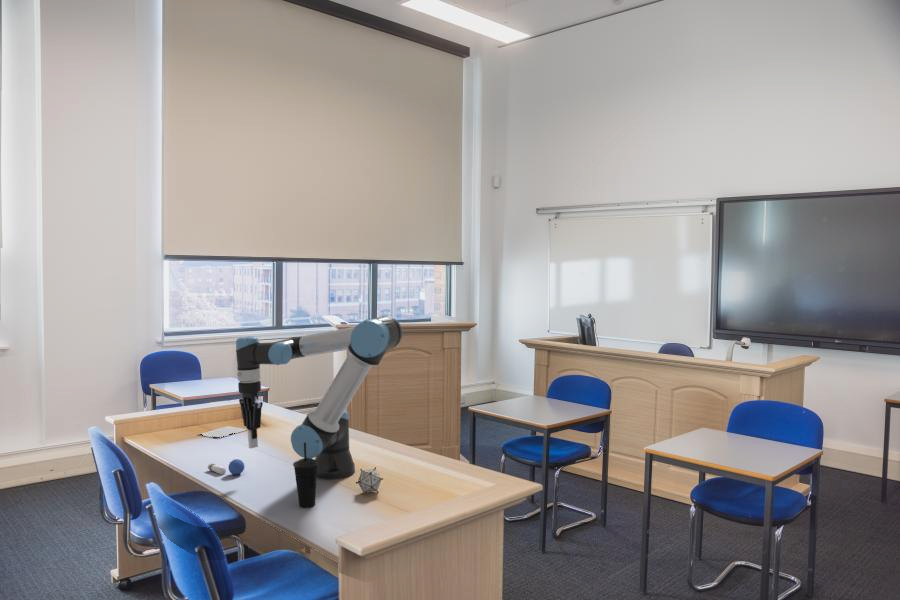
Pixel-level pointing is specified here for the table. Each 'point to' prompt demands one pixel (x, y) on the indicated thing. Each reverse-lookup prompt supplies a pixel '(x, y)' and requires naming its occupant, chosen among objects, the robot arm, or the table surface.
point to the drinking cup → (306, 480)
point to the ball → (236, 467)
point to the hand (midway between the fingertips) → (253, 447)
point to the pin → (216, 468)
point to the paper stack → (223, 431)
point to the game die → (369, 480)
